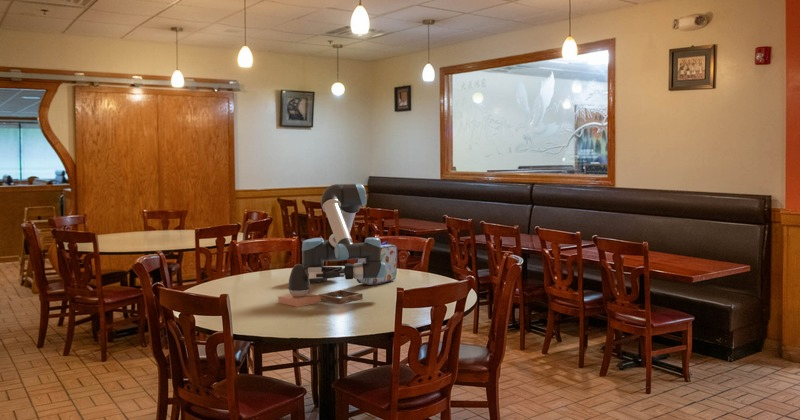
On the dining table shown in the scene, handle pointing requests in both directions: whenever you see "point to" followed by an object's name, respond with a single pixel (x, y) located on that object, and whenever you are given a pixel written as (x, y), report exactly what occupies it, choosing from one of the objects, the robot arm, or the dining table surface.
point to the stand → (299, 299)
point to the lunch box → (390, 261)
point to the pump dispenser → (299, 281)
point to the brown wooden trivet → (332, 295)
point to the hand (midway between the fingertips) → (308, 273)
